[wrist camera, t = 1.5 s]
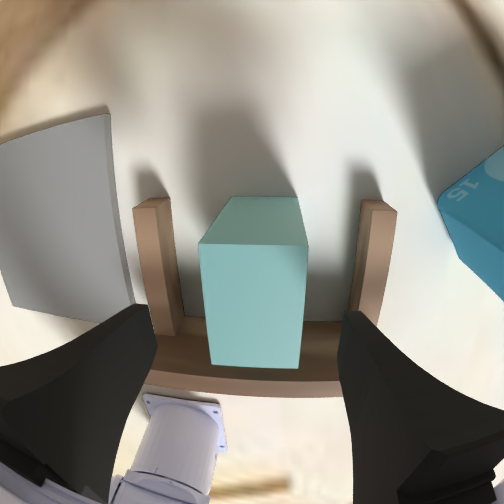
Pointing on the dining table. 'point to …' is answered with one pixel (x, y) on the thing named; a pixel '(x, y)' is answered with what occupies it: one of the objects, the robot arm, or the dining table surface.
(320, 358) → the bay
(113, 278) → the board
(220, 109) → the dining table surface
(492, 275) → the data package
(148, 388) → the dining table surface
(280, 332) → the block
